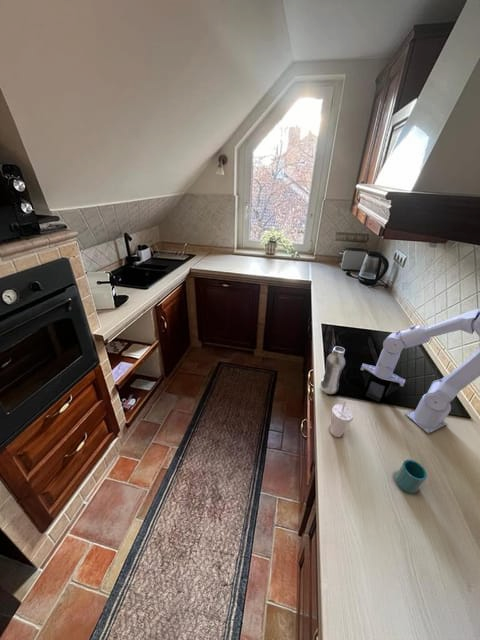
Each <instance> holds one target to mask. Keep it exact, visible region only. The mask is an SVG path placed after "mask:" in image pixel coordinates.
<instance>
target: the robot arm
mask: <svg viewBox="0 0 480 640" xmlns="http://www.w3.org/2000/svg"><path fill="white" fill-rule="evenodd" d="M457 331H463V332H465V333H467V334H470V335H474V333H476V335H478V337H480V308H475V309H472V310H469V311H467V312H463V313H461V314H459V315H456V316H453V317H450V318H447V319H445V320H442V321H440V322H439V321H438V322H437V323H434V324H431V325H428V326H425V325H422V324H419V325H415V324H413V325H410V326H409V328H407V329H404V330H401V331H400V330H397V331H394V332H392V333H389V335H388V336H387V337H386V338H384V340H383V342H382V346H383V348H382V350H381V352H380V354H379V358H378V360H377V362H376V365H370V364H367V363H362V365H361V367H360V371H362V375H361V376H362V378H363V388H367V385H368V384H369V379H370V376H371V374H372V375H373V376H375V377H377V378H378V379H381V380H385V381H390V384H389V386H388V388H387V390H386V392H385V395H384V396H385V398H388V396H389V395H390V394H392V392H394V391H397V390H398V389H399V388H400V387H404V385H405V383H406V379H404V378H403V377H401V376H399V375H397V374H396V373H394V371H395V369H396V367H397V364H398V362H399V360H400V357H401V354H402V351H403V349H409V348H413V347H416V346H419V345H424V344H427V343H429V342H430V341H431V338H434V337H438V336H442V335H445V334H449V333H454V332H457ZM479 377H480V348H478V349H477V350H476V351H475V352H474V353H473V354H471V355H470V356H468V358H466V359H465V360H464V361H463V362H462V363H461V364H460V365H459V366H457V367H455V369H454V370H452V371H451V372H450V373H449V374H448V375H447V376H443V377H442V378H440V379H436V380H433V381H432V382H431V383H430V387H429V388H428V391H427V392H426V393H424V394H423V395H422V396H421V398H420V400H419V402H418V404H417V406H416V408H415V409H414V411H411V412H409V413H407V414H406V416H407V417H408V418H409V419H410V420H411V421H413V422H414V423H415V424H416V425H417V426H418V427H420V428H421V429H422V430H423V431H425V432H426V433H427V434H430V433H432V432H435V431H436V430H438V429H441V428H442V427H445V426H446V425H447V422H445V420H446V418H447V417H448V415H449V414H450V412H452V411H451V410H452V405H451V402H452V401H453V400H455V398H456V397H457V396H458V394H459V393H460V392H461V391H462V390H464V389H465V388H466V387H467V386H468V385H470V384H471V383H473V382H474V381H475V380H476V379H478V378H479Z"/></svg>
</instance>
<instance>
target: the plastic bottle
mask: <svg viewBox="0 0 480 640" xmlns="http://www.w3.org/2000/svg"><path fill="white" fill-rule="evenodd" d="M345 351H346V349H345V348H344V347H342V346H337V345H335V346H334V347H333V350H332V351H331V352H332V353H330V354H329V355H328V356H327V357H326V360H325V371H324V374H323V377H322V379H321V380H320V381H321V382H320V389H321V391H322V392H323V393H325V394H327V395H334V394H336V393H338V391H339V388H340V379H341V374H342V372H343V370H344V368H345V366H346V358H345V357H344V355H345Z"/></svg>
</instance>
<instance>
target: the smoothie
mask: <svg viewBox="0 0 480 640" xmlns="http://www.w3.org/2000/svg"><path fill="white" fill-rule="evenodd" d="M346 404H347V399H344V400H343V404H342V403H337V404H335V405H333V406H332V409H331V422H330V430H329V431H330V433H331V435H333V436H334V437H335V438H341V437H342V436H343V434H344V433H345V431H346V430H347V428H348V426H349V424H350V423H351V422H352V421H353V420H354V417H355V414H354V411H353V410H352V408H350V407H349V406H347V405H346Z"/></svg>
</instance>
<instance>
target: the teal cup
mask: <svg viewBox="0 0 480 640" xmlns="http://www.w3.org/2000/svg"><path fill="white" fill-rule="evenodd" d="M427 478H428V473H427V471H426V469H425V468H424V467H423V465H422V464H420V463H419V462H418V461H416V460H413V459H405V460H404V461H403V462H402V464H401V466H400V467H399V469H398V471H397V473H396V475H395V477H394V479H395V482H396V485H397V486H398V487H399V488H400V490H402V491H404V492H405V493H407V494H411V495H413V494H416V493H417V492H418V491H419V490H420V488H421V487H422V485H423V484H424V483H425V481H426V480H427Z"/></svg>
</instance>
